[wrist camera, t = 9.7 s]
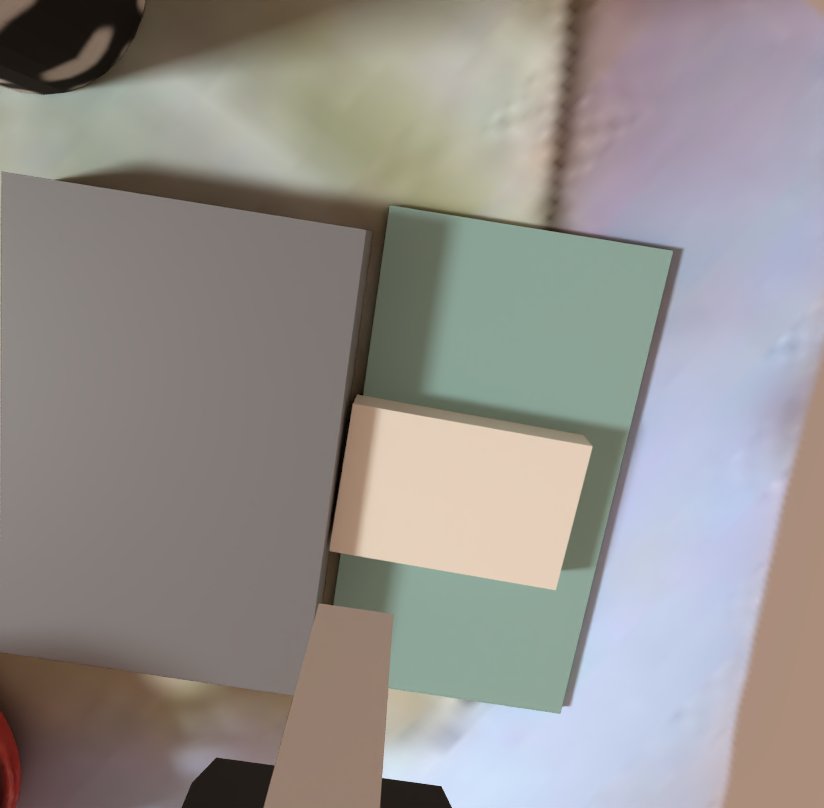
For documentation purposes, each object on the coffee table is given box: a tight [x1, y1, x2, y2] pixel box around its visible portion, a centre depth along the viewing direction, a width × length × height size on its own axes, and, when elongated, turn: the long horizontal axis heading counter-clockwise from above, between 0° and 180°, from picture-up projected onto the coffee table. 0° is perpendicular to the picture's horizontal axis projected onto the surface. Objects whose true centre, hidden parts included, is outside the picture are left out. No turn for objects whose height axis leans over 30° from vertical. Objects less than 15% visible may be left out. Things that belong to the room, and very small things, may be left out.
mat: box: [334, 205, 673, 714], centre depth 27 cm, size 20×10×1 cm, turn 171°
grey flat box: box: [0, 172, 373, 696], centre depth 25 cm, size 18×12×3 cm, turn 171°
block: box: [329, 395, 593, 590], centre depth 26 cm, size 6×9×2 cm, turn 80°
